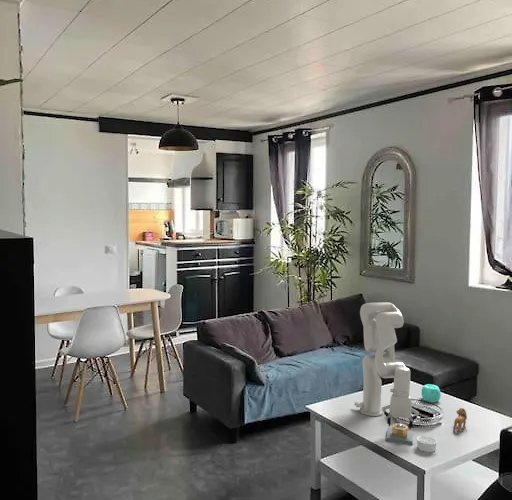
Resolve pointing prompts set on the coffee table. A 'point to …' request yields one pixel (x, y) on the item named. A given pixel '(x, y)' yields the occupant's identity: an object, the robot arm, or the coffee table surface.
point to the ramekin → (426, 443)
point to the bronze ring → (400, 431)
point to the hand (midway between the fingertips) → (399, 426)
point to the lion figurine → (460, 419)
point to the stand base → (397, 439)
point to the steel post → (399, 426)
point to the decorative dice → (431, 393)
